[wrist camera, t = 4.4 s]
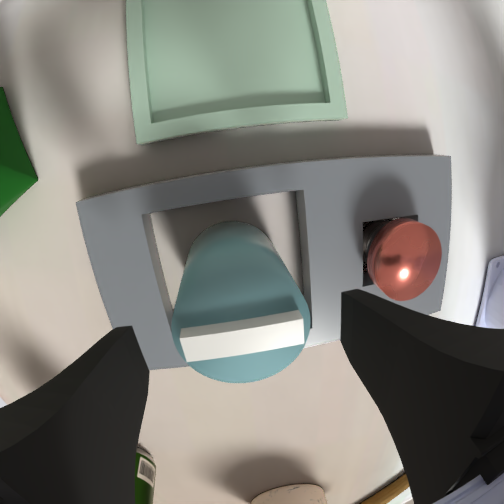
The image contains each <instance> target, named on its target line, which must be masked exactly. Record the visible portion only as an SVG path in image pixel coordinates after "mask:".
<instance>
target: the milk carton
mask: <svg viewBox="0 0 504 504" xmlns="http://www.w3.org/2000/svg"><path fill="white" fill-rule="evenodd" d="M37 181H38V178H37V176H36V174H35V171H34V169H33V167H32V165H31V162H30V160H29V158H28V156H27V153H26V151H25V148H24V146H23V143H22V141H21V138H20V136H19V133H18V131H17V128H16V125H15V123H14V120H13V117H12V114H11V111H10V108H9V105H8V102H7V99H6V96H5V93H4V90H3V87H0V216H1V215H2V214H3V213H4V212H5V211H6V210H7V209H8V208H9V207H10V206H11V205H12V204H13V203H14V202H15V201H16V200H17V199H18V198H19V197H20V196H21V195H23V194H24V193H25V192H26V191H27V190H28V189H29V188H30V187H31V186H32V185H33V184H34V183H36V182H37Z"/></svg>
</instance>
